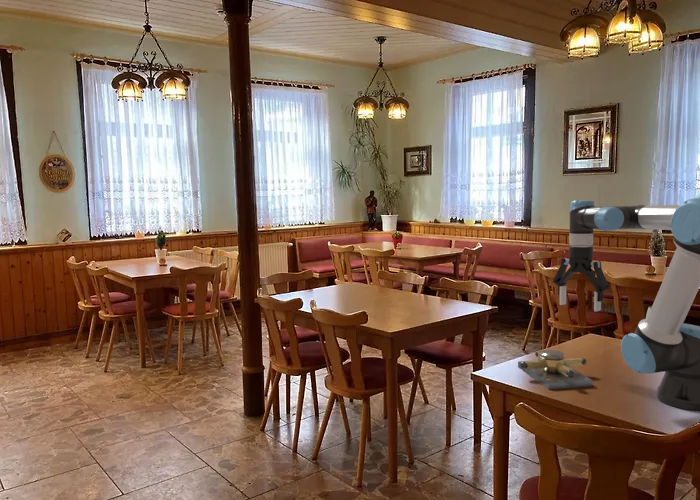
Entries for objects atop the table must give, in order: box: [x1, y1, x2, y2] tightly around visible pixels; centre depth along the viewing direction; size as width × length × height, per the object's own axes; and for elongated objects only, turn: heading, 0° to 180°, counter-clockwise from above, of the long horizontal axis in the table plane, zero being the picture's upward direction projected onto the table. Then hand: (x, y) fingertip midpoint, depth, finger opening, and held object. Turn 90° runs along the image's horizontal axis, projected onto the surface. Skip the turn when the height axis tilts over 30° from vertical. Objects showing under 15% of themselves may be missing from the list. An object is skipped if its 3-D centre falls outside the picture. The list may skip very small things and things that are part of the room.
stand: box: [517, 357, 593, 390], centre depth 194 cm, size 22×15×3 cm
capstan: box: [520, 349, 587, 378], centre depth 194 cm, size 24×24×5 cm
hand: (579, 307), depth 196 cm, fingers open, 13 cm apart
